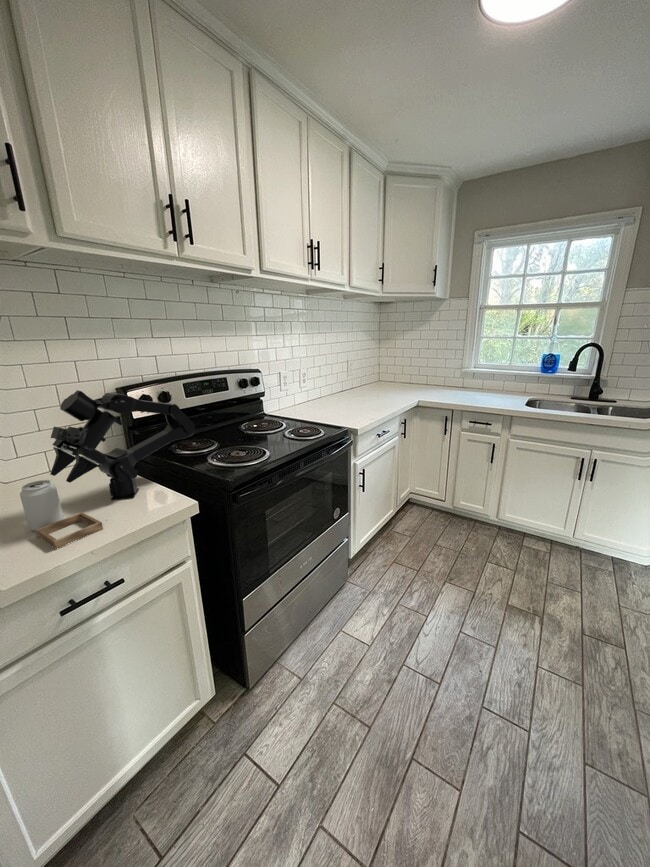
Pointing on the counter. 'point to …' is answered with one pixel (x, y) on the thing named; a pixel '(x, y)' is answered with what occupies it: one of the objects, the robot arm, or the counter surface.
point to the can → (41, 504)
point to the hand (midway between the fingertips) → (59, 478)
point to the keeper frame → (56, 543)
